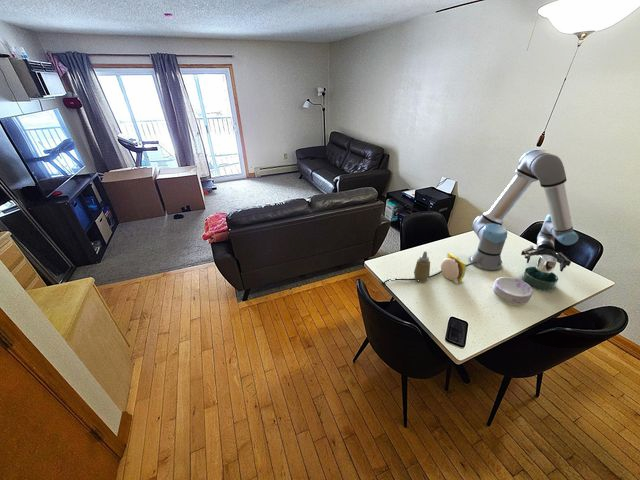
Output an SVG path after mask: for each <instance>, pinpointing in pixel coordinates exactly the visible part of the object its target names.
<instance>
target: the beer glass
mask: <svg viewBox="0 0 640 480" xmlns="http://www.w3.org/2000/svg"><path fill="white" fill-rule="evenodd" d="M557 263H558V262H557V259H556V258H555V257H553V256H550V255H539V258H538V260H537V262H536V264H535V267H536V269H535V274H534V276H533V278H535V279H537V280H540V281H544V282H546V279H547V277H548V276H549V275H550V274H551V272H552V273H553V271H554V270H555V267H556V264H557Z"/></svg>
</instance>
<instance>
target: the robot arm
mask: <svg viewBox="0 0 640 480" xmlns="http://www.w3.org/2000/svg"><path fill="white" fill-rule="evenodd" d="M518 163H519V164H518V166H517V168H516V170H515V176H514V177H513V178H512V179H511V181H510V183H509V184H508V185H507V187H505V189H504V191H503V192H502V193H501V194H500V196H499V197H498V198H497V200H495V202H494V204H492V205H491V207H490V209H489V210H488V211H484V212H483V213H482V214H481V215H478V216H477V217H476V218H475V219H474V220H473V222H472V230H473V232H474V234H475V235H476V236H477V238H478V239H479V243H478V246H477V249H476V251H474V253H473V254H472V256H471V257H470V263H468V264H466V267H465V268H467V267H469V266H471V265H473V266H475V267H477V268H478V269H482V270H485V271H497V270H499V269H500V268H501V266H502V264H503V260H502V257H501V256H502V255H501V254H502V251H503V249H504V246H505V244H506V240H507V238H508V230H507V228H506V227H505V226H503V224H504V218H505V217H506V216H507V214H508V213H509V212H510V211H511V209H513V207H514V206H515V205H516V204H517V202H518V201H519V200H520V199H521V198H522V196H523V195H524V194H525V192H526V191H527V190H528V188H529V187H531V185H532V184H533V183H534V182H538V181H539V185H540V187H541V188H543V190H544V194H545V199H546V202H547V208H548V211H549V214H547V215H546V217H545V219H544V220H543V223H542V225H541V226H542V227H541V229H540V231H539V233H538V234H537V237H536V247H534V245H530V246H529V247H527V248H524V249H523V250H521V253H520V256H524V259H526V264H529V263H530V260H531V257H533V256H541V255H550V256H553V257H555V258H556V259H557V262H556V263H559V271H560V272H561V273H562V272H563V271H564V269H565V268H567V267H570V265H571V263H572V260H570V259H569V258H568V257H567V256H566V255H564V253H563V252H562V251H559V252H556V251H555V240H557V241H558V243H560V244H562V245H564V246H571V245H574V244H576V243H577V242H578V241H579V235H578V234H577V232H576V231H574V227H573V222H572V217H571V211H570V206H569V201H568V195H567V190H566V186H565V184H566V182H567V174H566V171H565V170H566V169H565V167H564V164H563V161H562V159H561V158H560V157H559V156H558V155H557V154H554V153H551V152H549V151H547V150H545V149H540V148H535V149H530V150H528V151H526V152H524V153H523V155H521V157H520V158H519V162H518ZM440 274H443V273H442V271H441V270H440V271H438V272H436V273H434V274H432V275H429V277H428V279H430V278H433V277H436V276H438V275H440ZM391 279H392V278H390V279H386V280H385V281H383V282H382V283H381V285H385V284H386V283H388V282H393V281H417V280H416V279H415V278H401V279H397V278H394V279H395V280H391ZM389 280H391V281H389ZM387 281H388V282H387ZM385 282H386V283H385Z"/></svg>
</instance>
